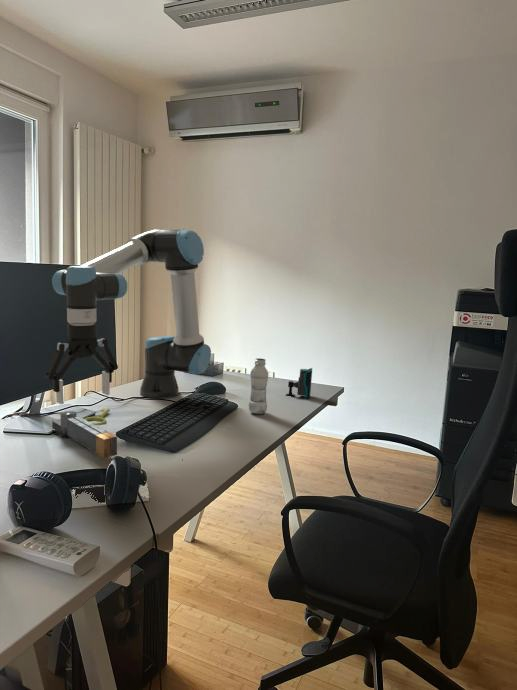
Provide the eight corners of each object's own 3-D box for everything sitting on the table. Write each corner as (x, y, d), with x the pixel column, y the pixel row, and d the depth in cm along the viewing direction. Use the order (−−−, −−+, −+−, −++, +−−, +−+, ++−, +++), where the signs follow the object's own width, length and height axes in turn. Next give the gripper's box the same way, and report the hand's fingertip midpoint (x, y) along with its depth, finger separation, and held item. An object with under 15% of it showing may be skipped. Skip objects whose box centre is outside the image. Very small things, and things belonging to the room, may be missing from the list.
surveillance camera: (288, 365, 199) (312, 367, 198) (286, 393, 201) (310, 395, 200) (287, 368, 193) (311, 370, 192) (285, 397, 195) (309, 399, 194)
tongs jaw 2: (73, 434, 139) (73, 417, 138) (79, 432, 141) (79, 415, 140) (110, 456, 125) (110, 437, 124) (116, 454, 126) (117, 436, 126)
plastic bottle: (264, 417, 169) (268, 362, 165) (246, 414, 170) (249, 360, 167) (268, 411, 175) (271, 358, 171) (250, 409, 176) (253, 356, 173)
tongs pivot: (50, 430, 145) (49, 408, 144) (64, 427, 148) (64, 405, 147) (65, 439, 138) (64, 416, 137) (79, 436, 142) (79, 413, 140)
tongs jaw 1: (67, 435, 138) (66, 418, 137) (73, 434, 139) (72, 417, 138) (103, 458, 124) (103, 439, 123) (110, 456, 125) (110, 437, 124)
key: (110, 413, 165) (110, 407, 164) (105, 426, 153) (105, 419, 152) (88, 414, 163) (88, 408, 163) (81, 426, 151) (81, 420, 151)
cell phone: (149, 502, 106) (149, 498, 106) (63, 511, 101) (63, 507, 100) (146, 484, 115) (146, 481, 114) (66, 492, 109) (66, 488, 109)
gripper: (41, 328, 118) (44, 410, 122) (129, 322, 136) (130, 393, 140) (29, 325, 123) (32, 403, 127) (116, 318, 141) (116, 387, 145)
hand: (83, 398), depth 133 cm, fingers open, 13 cm apart
